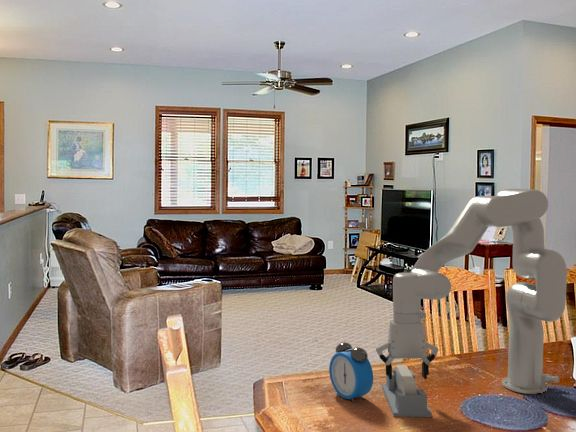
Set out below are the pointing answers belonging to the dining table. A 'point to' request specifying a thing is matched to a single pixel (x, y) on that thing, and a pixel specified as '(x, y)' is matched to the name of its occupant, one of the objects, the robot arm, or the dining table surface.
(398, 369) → the light grey rectangular block
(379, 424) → the dining table surface
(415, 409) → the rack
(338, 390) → the alarm clock
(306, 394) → the dining table surface
